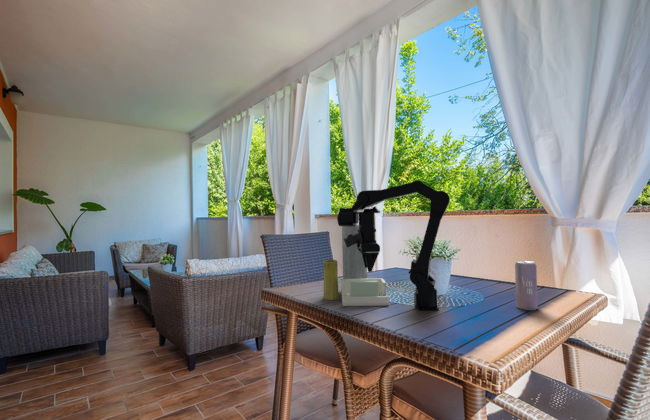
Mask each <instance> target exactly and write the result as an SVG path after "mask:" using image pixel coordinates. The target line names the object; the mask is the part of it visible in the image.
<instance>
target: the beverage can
mask: <svg viewBox="0 0 650 420" xmlns="http://www.w3.org/2000/svg"><path fill="white" fill-rule="evenodd" d="M514 271H515V272H514V275H515V276H514V277H515V278H514V279H515V282H514V283H515V304H516V307H517V308H518V309H521V310H525V311H535V310H537V308H538V282H537V281H538V279H537V278H538V276H537V274H538V273H537V265H536V261H532V260H531V261H530V260H516V261H515V263H514Z"/></svg>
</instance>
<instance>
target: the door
mask: <svg viewBox="0 0 650 420" xmlns="http://www.w3.org/2000/svg"><path fill="white" fill-rule="evenodd" d="M350 295H351V296H378V281H350Z"/></svg>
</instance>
